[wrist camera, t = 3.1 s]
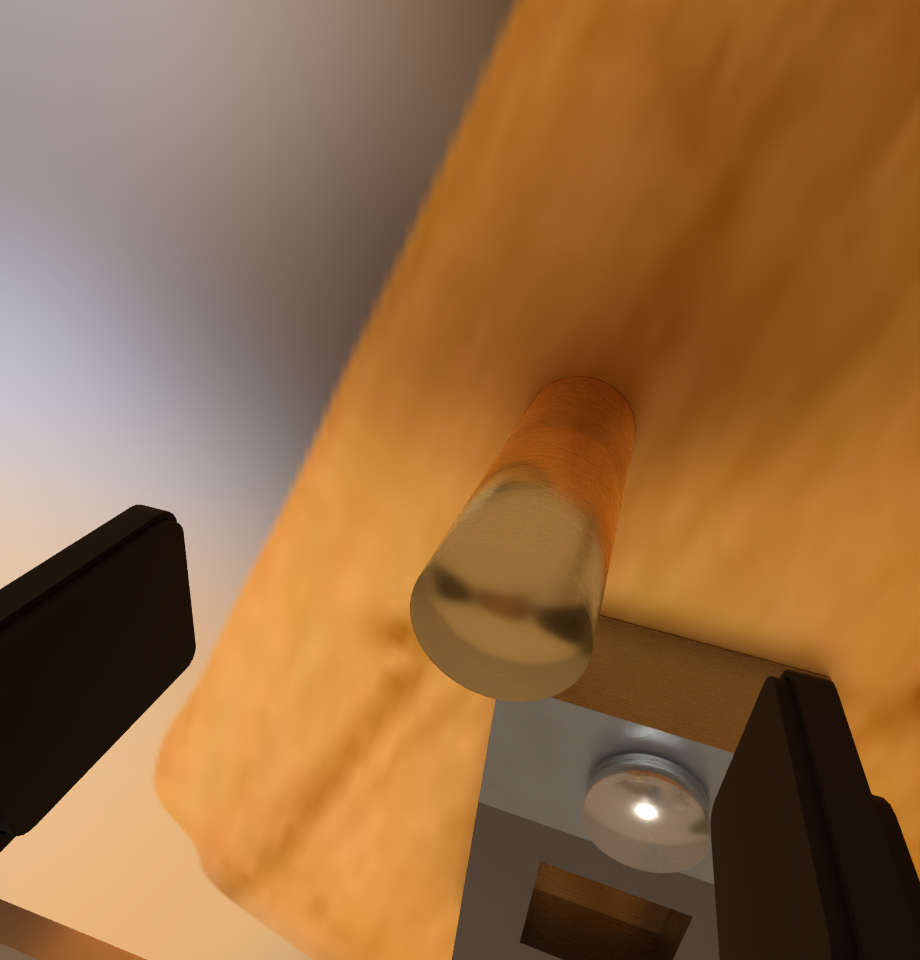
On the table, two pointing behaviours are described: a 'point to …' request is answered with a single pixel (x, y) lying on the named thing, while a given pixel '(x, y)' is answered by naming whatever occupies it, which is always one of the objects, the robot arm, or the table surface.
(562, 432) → the brass pin
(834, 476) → the table surface
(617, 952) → the metal block
